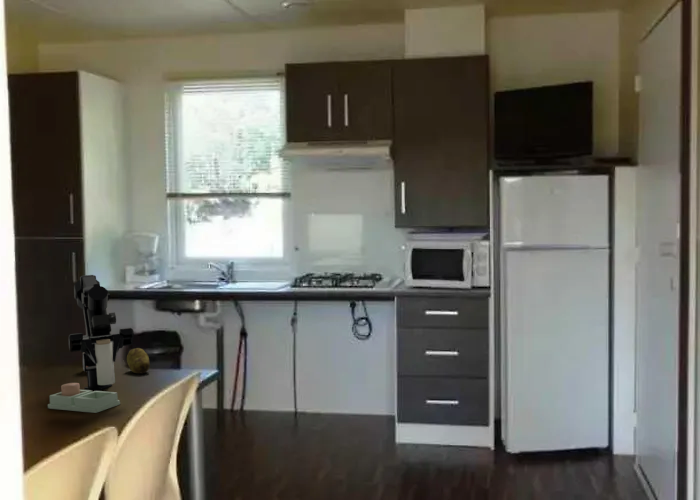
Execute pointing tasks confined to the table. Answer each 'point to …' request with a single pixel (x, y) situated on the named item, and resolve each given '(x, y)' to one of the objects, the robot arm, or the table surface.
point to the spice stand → (82, 399)
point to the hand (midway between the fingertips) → (105, 362)
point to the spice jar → (104, 362)
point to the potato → (138, 360)
